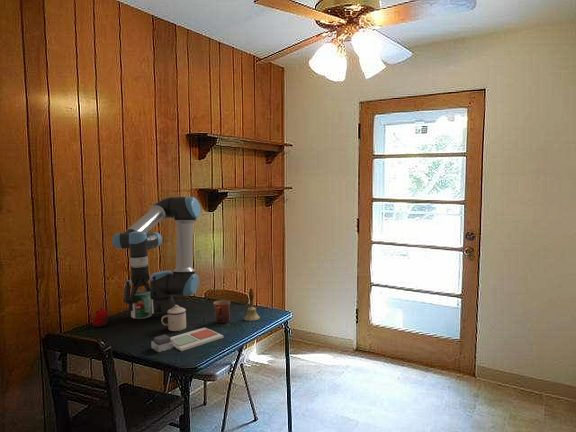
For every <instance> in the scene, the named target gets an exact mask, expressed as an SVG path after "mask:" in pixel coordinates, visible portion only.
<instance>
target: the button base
mask: <svg viewBox="0 0 576 432" xmlns="http://www.w3.org/2000/svg"><path fill="white" fill-rule="evenodd" d="M170 341H171V342H168V343H164V344H161V345H159V344H157V343H155V342H154V340H152V341H151V344H150V345H151V349H152V350H154V351H156V352H157V353H162V351H163V352H165V351H169V350H173V349H175V347H174V341H172V340H170Z"/></svg>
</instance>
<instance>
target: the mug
mask: <svg viewBox="0 0 576 432" xmlns="http://www.w3.org/2000/svg"><path fill="white" fill-rule="evenodd" d="M212 304H213V306H214V319H215V322H216V323H217V324H218V325H222V324H223V325H224V324H227V323H228V322H229V321H230V317H231V316H230V314H231V313H230V306H231V301H230V300H227V299H222V300H221V299H219V300H215V301H214V302H213V303H212Z"/></svg>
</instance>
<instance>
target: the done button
mask: <svg viewBox="0 0 576 432" xmlns="http://www.w3.org/2000/svg"><path fill="white" fill-rule="evenodd" d="M170 337H171V336H169V335H167V334H162V335H158V336H154V337H153V338H154V340H153V341H154V342H155V343H157V344H159V345H161V344H164V343H168V342H171V341H170Z"/></svg>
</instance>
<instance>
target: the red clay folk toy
mask: <svg viewBox="0 0 576 432" xmlns="http://www.w3.org/2000/svg"><path fill="white" fill-rule="evenodd" d="M100 300H101V301H102V303H101V305H100V306H101V307H100V309H96V310H95V312H94V314H93V318H92V326H93V328H103V327H102V326H104V327H106V326H107V325H108V323H109V315H108V311H107V310H106V308H105V307H103V306H104V302H107V299H106V298H105V297H103V298H100Z"/></svg>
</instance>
